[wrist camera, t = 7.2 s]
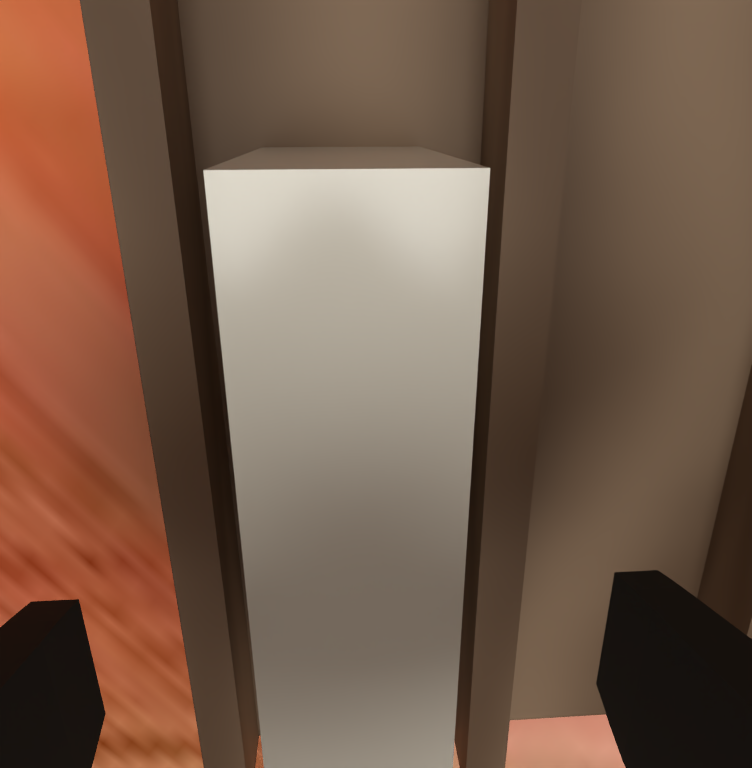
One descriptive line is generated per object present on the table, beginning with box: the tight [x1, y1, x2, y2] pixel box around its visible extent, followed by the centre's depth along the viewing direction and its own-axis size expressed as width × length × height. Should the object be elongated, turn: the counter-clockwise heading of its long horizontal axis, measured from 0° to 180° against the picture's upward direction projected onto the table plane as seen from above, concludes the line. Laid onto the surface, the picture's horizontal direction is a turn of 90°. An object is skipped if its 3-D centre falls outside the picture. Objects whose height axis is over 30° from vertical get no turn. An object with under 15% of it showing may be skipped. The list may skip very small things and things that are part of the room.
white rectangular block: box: [203, 146, 490, 768], centre depth 12 cm, size 3×12×6 cm, turn 0°
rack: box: [80, 0, 752, 768], centre depth 14 cm, size 15×19×3 cm
